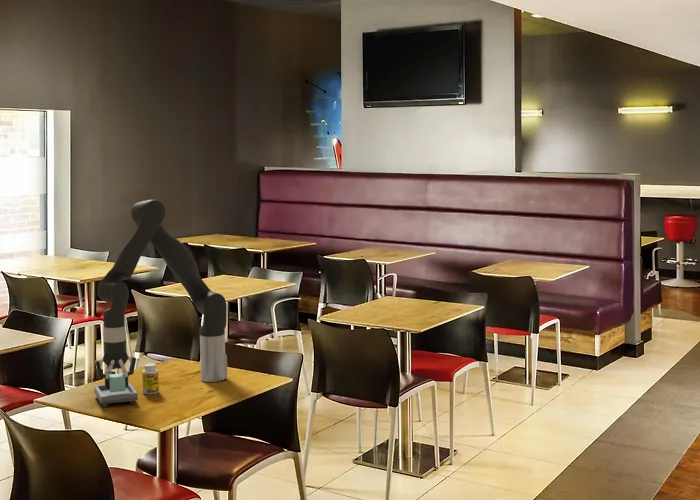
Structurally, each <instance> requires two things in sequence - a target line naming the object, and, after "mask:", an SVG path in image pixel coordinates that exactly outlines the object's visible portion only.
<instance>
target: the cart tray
mask: <svg viewBox="0 0 700 500" xmlns="http://www.w3.org/2000/svg"><path fill="white" fill-rule="evenodd" d="M93 386H94V387H93V388H94V389H93V390H94V394H95V395H96V398H97V399H98V401H99V403H100V404H101V405H103V408H108V407H109V406H108V405H110V404H115V403H123V402H125V403H126V402H130V405H134V404H135V401H138V400H139V399H138V392H137V391H136V389H135V387H134V386H133V385H132V384H131V382H130V381H128V386H127V387H126V388H125V390H126V391H120V392H111V393H110V391H109V390H108V389H107V388H106V387H105V383H104V384H98V385H97V384H96V385H93Z"/></svg>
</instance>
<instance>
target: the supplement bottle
mask: <svg viewBox="0 0 700 500" xmlns="http://www.w3.org/2000/svg"><path fill="white" fill-rule="evenodd" d="M143 367H144V369H143V370H142V392H143V394H144V395H156V394H158V393H159V390H160V385H159V380H160V379H159V370H158V369H157V365H156V363H146V364H144V366H143Z"/></svg>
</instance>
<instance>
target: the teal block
mask: <svg viewBox="0 0 700 500" xmlns="http://www.w3.org/2000/svg"><path fill="white" fill-rule="evenodd" d="M109 382H110V389H109V391H110V393H111V392H120V391H126V390H125V376H124V374H123V372H121V373H113V374H112V373H110V376H109Z"/></svg>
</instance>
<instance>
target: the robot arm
mask: <svg viewBox="0 0 700 500" xmlns="http://www.w3.org/2000/svg"><path fill="white" fill-rule="evenodd" d="M166 211H167V209H166V207H165V205H164V204H163V203H162V202H161V200H158V199H147V200H142V201H139V202H136V203H135V204H134V205H133V206H132V208H131V212H130V214H131V219H132V221H133V222H134V224H135V225H136V227H137V229H136V231H135V232H134V234H132V236H131V237H130V239H128V241H127V242H126V243H125V244H124V246H122V247H121V250H120V251H119V253H118V255H117V257H116V259H115V261H114V264H113V266H112V267H111V269H110V270H108V272H107V274H105V275H104V277H102V279H101V281H100V282H99V284H98V287H97V296H98V298H99V299H100V300H101V301H104V302H112V304H111V307H110V308H107V309H105V310H104V311H103V313H102V317H103V332H102V333H103V334H102V337H103V341H102V342H103V357H102V358H100V359H95V360H94V363H95V367H96V370H97V374H98V376H99V378H100V379H104V384H105V387H106V388H107V389H108V390H109V389H110V382H109V376H110V374H112V370H117V369H118V370H121V371H122V372H121V373H123V374H124V376H125V388H126V387H127V386H128V382H129V376H132V375H134V373H135V372H134V371H135V368H136V363H137V358H136V357H135V356H134V355H133V356H131V355H130V356H129V355H128V349H127V348H128V347H127V337H128V336H127V331H126V330H127V329H126V319H125V316H126V315H125V313H126V309H127V306H128V301H129V295H130V292H129V288H128V286H127V284H126V283H125V282H123V281H124V280H129V279H130V278H131V277H132V276H133V274H134V272H135V270H136V268H137V266H138V263H139V262H140V259H141V257H142V255H143V254H144V252H145V249H146V248H147V246H148V244H149V243H150V242H151V244H152V245H153V246H154V248H155V249H156V251H157V252H158V254H159V255H160V256H161V257H162V259H163V261H164V262H165V264H166V265H167V267H168V269H169V270H170V271H171V273H173V275H174V276H175V278H176V279H177V280H178V281H179V283H180V285H182V287H183V288H184V289H185V291H186V292H187V294H188V296H189V297H190V299H191V301H192V303H193V304H194V307H195V309H196V310H197V311H198V312H199V313H200V314H201V315H203V323H202V324H203V325H202V326H200V327H199V353H200V354H199V355H200V380H201V381H202V382H206V383H217V381H218V382H222V381H221V380H223V381H225V380H224V379H227V380H228V355H227V354H226V339H225V337H226V336H225V335H226V334H225V333H226V331H225V329H226V327H227V322H228V321H227V320H228V319H227V318H228V317H227V313H228V311H227V310H228V308H227V301H226V298H225V297H224V295H222V294H221V293H219V292H215V291H212V289H210V288H209V287H208V285H207V284H206V283H205V281H204V280H203V279H202V277H201V275H200V272H199V268H198V265H197V262H196V259H194V257H193V255H192V253H191V252H190V251H189V249H188V248H187V247H186V245H184V244H183V243H182V241H180V240H179V239H178V238H176V237H175V236H173V235H172V234H171V233H169V232H168V231H167V230H166V229H165V228H164V227H163V225H162V223H163V222H164V220H165V218H166ZM127 361H128V362H129V368H128V370H127V369H126V366H125V364H126V363H127ZM103 363H104V364H105V365H106V368H105V371H104V373H103V371H102V365H103Z"/></svg>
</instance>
